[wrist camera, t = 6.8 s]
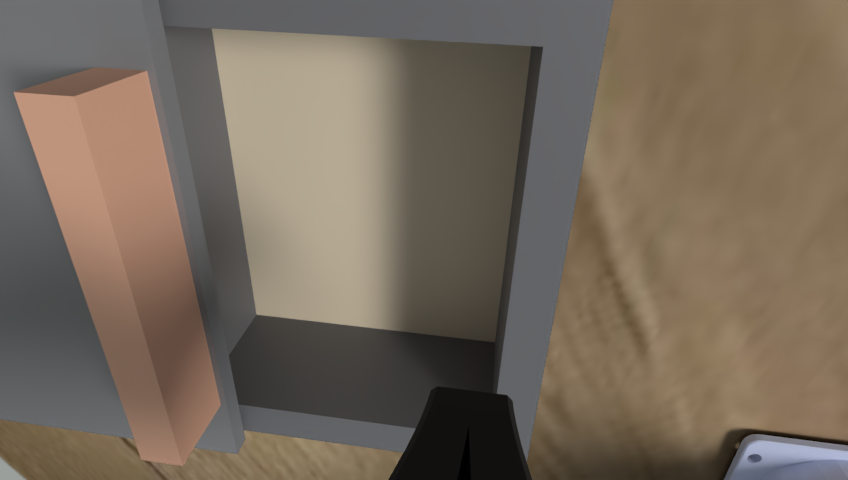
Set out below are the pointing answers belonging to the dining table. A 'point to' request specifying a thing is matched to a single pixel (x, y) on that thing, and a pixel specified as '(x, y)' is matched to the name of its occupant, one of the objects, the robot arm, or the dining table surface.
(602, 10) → the box
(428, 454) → the robot arm
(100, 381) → the mailer lid
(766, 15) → the dining table surface
